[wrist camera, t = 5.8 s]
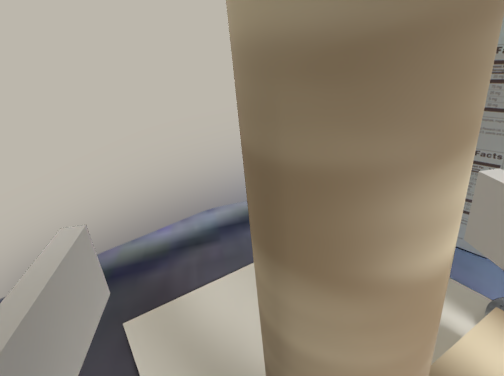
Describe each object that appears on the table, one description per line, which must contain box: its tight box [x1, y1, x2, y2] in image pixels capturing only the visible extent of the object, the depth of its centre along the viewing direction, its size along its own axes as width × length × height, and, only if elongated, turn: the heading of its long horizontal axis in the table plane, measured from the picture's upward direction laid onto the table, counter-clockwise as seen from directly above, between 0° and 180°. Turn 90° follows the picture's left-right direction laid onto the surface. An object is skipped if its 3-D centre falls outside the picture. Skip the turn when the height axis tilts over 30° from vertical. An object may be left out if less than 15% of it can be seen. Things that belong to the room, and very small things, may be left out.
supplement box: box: [456, 16, 504, 258], centre depth 30 cm, size 13×13×18 cm
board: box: [123, 263, 493, 376], centre depth 17 cm, size 20×22×1 cm
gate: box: [226, 0, 504, 376], centre depth 10 cm, size 14×4×19 cm, turn 122°
